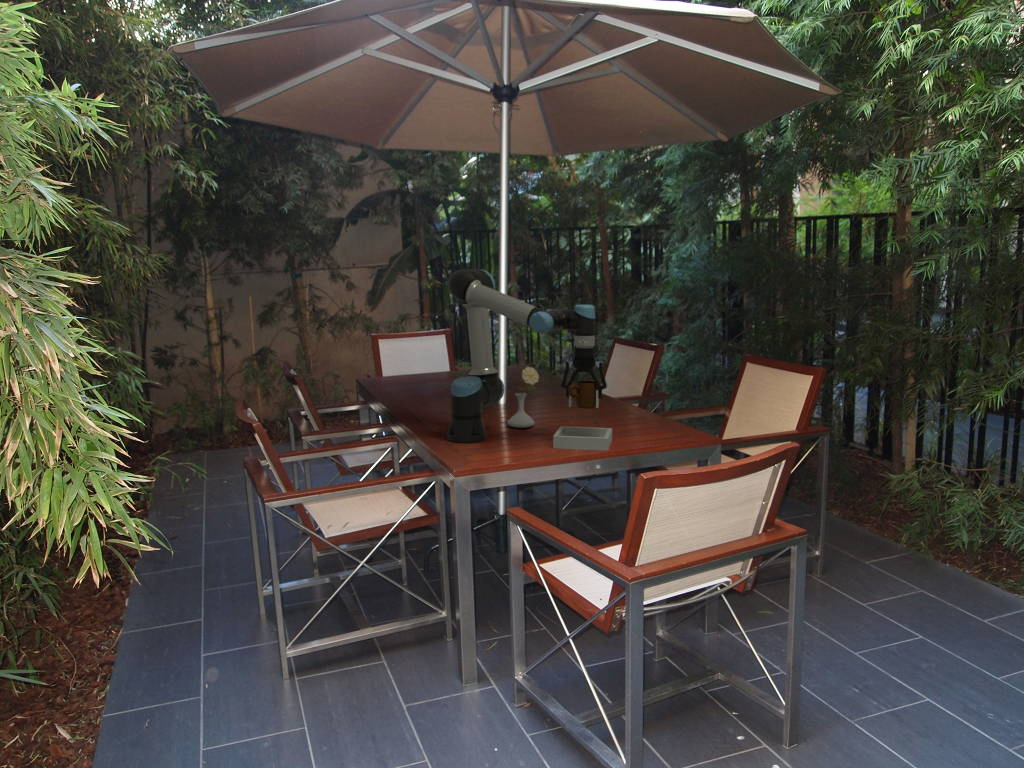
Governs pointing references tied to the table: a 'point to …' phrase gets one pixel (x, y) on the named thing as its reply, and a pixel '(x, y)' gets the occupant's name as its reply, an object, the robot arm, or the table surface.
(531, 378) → the flower in vase
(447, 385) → the table surface
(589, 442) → the tray
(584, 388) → the mug
